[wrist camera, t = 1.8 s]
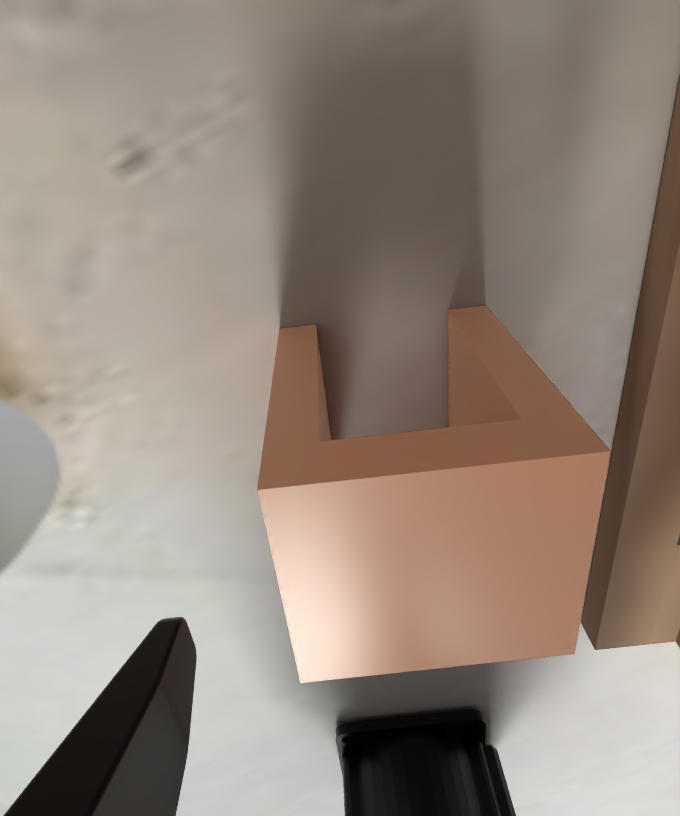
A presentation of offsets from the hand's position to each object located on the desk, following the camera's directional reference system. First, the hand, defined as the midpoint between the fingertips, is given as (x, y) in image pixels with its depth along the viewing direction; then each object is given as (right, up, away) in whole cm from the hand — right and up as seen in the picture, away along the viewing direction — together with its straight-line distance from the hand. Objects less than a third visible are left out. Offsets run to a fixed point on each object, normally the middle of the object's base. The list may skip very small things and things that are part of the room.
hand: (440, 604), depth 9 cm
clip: (0, +4, +6) cm, 7 cm away
